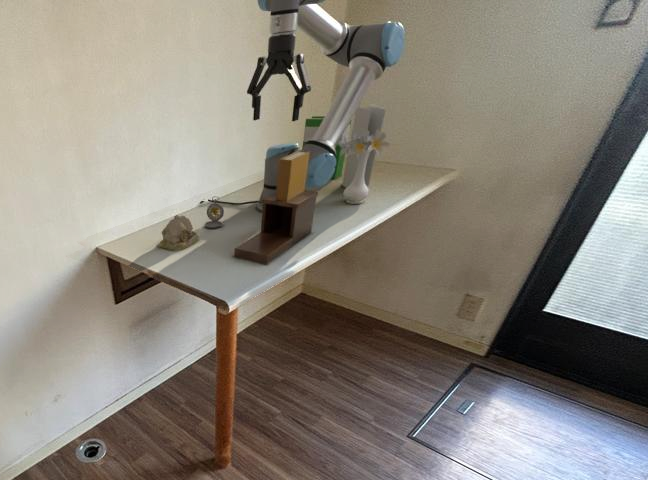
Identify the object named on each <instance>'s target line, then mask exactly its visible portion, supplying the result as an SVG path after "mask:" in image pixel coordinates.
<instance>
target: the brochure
mask: <svg viewBox="0 0 648 480" xmlns="http://www.w3.org/2000/svg"><path fill="white" fill-rule="evenodd" d="M386 112H387V108H386V107H382V106H378V105H376V104H373V103H370V104H369V106H367V105H366V106H365V105H359V107H358V109H357V110H356V112H355V114H354V119H353V123H352V124H353V125H352V130H351V134H350V135H351V136H350V139H351V138H352V135H353V133H355V134H356V137H355V138H357V137H361V136H362V135H364V133H365V132H366V131H369V136H371V135H374V136H375V137H376V130H378V131H379V135H380V134H381V133H382V128H383V125H384V122H385V121H384V120H385V116H386ZM369 136H368V137H369ZM371 144H372V143H371ZM371 144H369V145H368V147H369V146H370V145H371ZM353 148H354V147H351V148H350V150H351V149H353ZM376 156H377V153H376V151H375V149H374V150H372V151H371V152H370V154H369V157H368V159H367V163H366V169H365V175H364V180H365V184H366V186H367V187H368V188H369V186H370V182H371V177H372V173H373V168H374V165H375V160H376ZM358 161H359V159H357V158H356V153H355V154H353V155H347V156H346V161H345V167H344V172H343V178H342V183H341V186H343V187H344V188H345V189H346V188H347V187H348V186H349V185H350V184H351V183H352V181H353V179H354V177H355V174H356V170H357V166H358Z"/></svg>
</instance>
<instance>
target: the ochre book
mask: <svg viewBox="0 0 648 480" xmlns="http://www.w3.org/2000/svg"><path fill="white" fill-rule="evenodd" d="M309 153H310V152H307V153H305V152H299V151H297V152H294V153H292V154H290V155H288V156H286V157H284V158H282V159H279V169H278V179H277V190H276V200H280V201H288V200H290V199H292V198H293V197H295V196H297V195H299V194H300V193H302V192H304V190H306V188H305V183H306V175H307V168H308V160H309Z"/></svg>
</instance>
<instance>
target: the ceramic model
mask: <svg viewBox="0 0 648 480" xmlns="http://www.w3.org/2000/svg"><path fill="white" fill-rule="evenodd" d="M193 230H194V227H193V224H192V221H191V220H190V218H189V217H186V215H180V216H179V215H178V214H176V215H174V216H173V218H172V219H170V220H169V221H168V223H167V224H166V226H165V227H164V228H163V229H162V231H161V235H162V240H160V242H159V244H158V247H159V248H164V249H167V250H169V251H179V250H184V249H186V248H188V247H190V246H192V245H194V244H195V243H196V242H197V241H198V239H199V232H197V231H193Z"/></svg>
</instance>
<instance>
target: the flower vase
mask: <svg viewBox="0 0 648 480" xmlns="http://www.w3.org/2000/svg"><path fill="white" fill-rule="evenodd" d="M351 135H352V134H351ZM368 136H369V131H366V132H365V133H364V135H362V136H361V137H357V138H355V137H356V134H355V133H353V135H352V138H351V137H350V139H349V136H348V137H347V135H346V134H345V135H344V140H345V142H344V141H340V142H339V143H338V145H339V146H340V147H344V148H343V149H342V150H341V153H340V156H342V155H343V154H344V153H345V154H346V155H347V156H348V155H353V154H355V153H356V158H357V159H359V161H358V166H357V170H356V174H355V177H354V179H353V181H352V183H351V184H350V185H349V186H348V187H347V188H345V189H344V190H343V192H342V193H343V194H342V195H343V198H344V199H345V203H347V204H351V205H359V204H362V203H363V202H364V201H365V199H367V198H368V197H369V196H370V195H369V194H370V189H369V187H367V186H366V184H365V180H364V175H365V169H366V163H367V159H368V157H369V154H370V152H371V151H372V150H374V149H375V151H376V156H381V155H382V152H383V151H382V150H383V148H389V146H390V141H385V139H386V138H387V134H386V133H385V132H384V131H383V132H382V131H381V134H380V135H379V131H378V130H376V137H375V136H374V135H371V136H369V137H368ZM371 143H372V144H371ZM369 144H371V145H370V146H369V147H368V145H369ZM351 147H354V148H353V149H351V150H350V148H351Z"/></svg>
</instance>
